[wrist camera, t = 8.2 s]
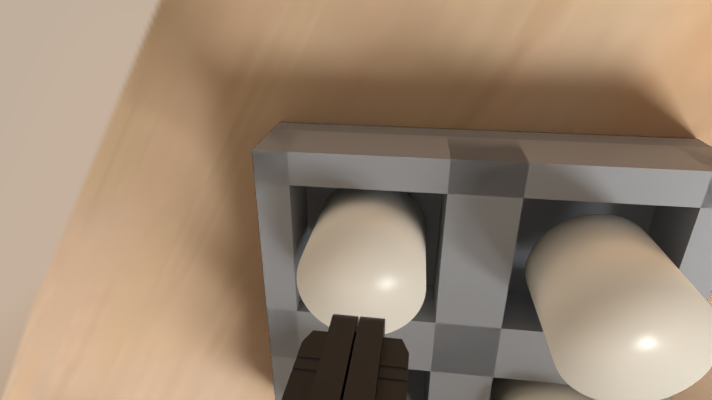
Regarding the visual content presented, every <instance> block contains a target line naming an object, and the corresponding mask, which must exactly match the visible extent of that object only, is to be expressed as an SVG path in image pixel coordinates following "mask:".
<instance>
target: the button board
mask: <svg viewBox="0 0 712 400" xmlns="http://www.w3.org/2000/svg"><path fill="white" fill-rule="evenodd" d="M252 157H253V168H254V179H255V189H256V200H257V211H258V221H259V232H260V242H261V253H262V264H263V274H264V285H265V296H266V306H267V317H268V327H269V338H270V349H271V359H272V370H273V381H274V391H275V400H281V399H282V397H283V394H284V391H285V388H286V385H287V382H288V380H289V377H290V374H291V371H292V369H293V365H294V363H295V360H296V358H297V354H298V351H299V348H300V346H301V343H302V341H303V340H304V339H305V338H306V337H307V336H308V335H309V334H310V333H311V332H312V331H313V330H316V331H326V332H328V329H329V326H327V325H325V324H324V323H322V322H321V321H320V320H318V319H317V318H316V317H315V316H314V315H313V314H312V313H311V312H310V311H309V310H308V308H307V307H306V306H305V304H304V302H303V301H302V299H301V296H300V294H299V291H298V287H297V268H298V264H299V261H300V259H301V256H302V254H303V252H304V250H305V247H306V245H307V243H308V240H309V238H310V236H311V233H312V231H313V229H314V227H315V224H316V222H317V220H318V217H319V215H320V213H321V210H322V208H323V206H324V204H325V202H326V201H327V200H328V198H329V197H330V196H331V195H332V194H333V193H334V192H335V191H336V190H338V189H339V188H347V189H365V190H383V191H402V192H407V193H408V194H409V195H410V196H411V197H412V198H413V199H414V200H415V201H416V203H417V204H418V206H419V207H420V209H421V211H422V213H423V217H424V220H425V235H426V294H425V299H424V302H423V304H422V306H421V308H420V310H419V312H418V313H417V314H416V316H415V317H414V318H413V319H412V320H411V321H410V322H409V323H407V324H406V325H405V326H403V327H401V328H400V329H398V330H395V331H393V332H391V333H387V334H385V337H387V338H397V339H402V340H403V342H404V344H405V346H406V348H407V350H408V352H409V363H408V382H407V392H408V393H409V395H410V397H411V399H412V400H492V396H491V387H492V381H493V379H494V377H495V378H505V379H516V380H526V381H537V382H547V383H557V384H567V383H566V382H565V380H564V379H563V378H562V377H561V376H560V374H559V372H558V371H557V369H556V366H555V364H554V361H553V358H552V355H551V352H550V349H549V347H548V344H547V341H546V338H545V335H544V332H543V329H542V326H541V323H540V320H539V317H538V315H537V312H536V309H535V306H534V303H533V300H532V297H531V294H530V291H529V288H528V285H527V282H526V277H525V268H526V262H527V258H528V256H529V253H530V251H531V249H532V248H533V246H534V245H535V243H536V242H537V241H538V240H539V238H540V237H541V236H543V235H544V234H545V233H546V232H547V231H548V230H550V229H551V228H552V227H554V226H556V225H557V224H559V223H561V222H563V221H566V220H568V219H571V218H574V217H577V216H582V215H588V214H609V215H615V216H619V217H622V218H625V219H628V220H630V221H632V222H634V223H635V224H637V225H638V226H640V227H641V228H642V229H643V230H644V231H645V232H646V233H647V234H648V235H649V236H650V237H651V238H652V240H653V241H654V242H655V243H656V244H657V245H658V246H659V247H660V249H661V250H662V251H663V252H664V253H665V254H666V255H667V256H668V258H669V259H670V260H671V261H672V262H673V263H674V264H675V266H676V267H677V268H678V269H679V270H680V271H681V272H682V273H683V275H684V276H685V277H686V278H687V279H688V280H689V281H690V282H691V284H692V285H693V286H694V287H695V288H696V289H697V290H698V292H699V293H700V294H701V295H702V296H703V297H704V298H705V299H706V301H708V298H709V295H710V293H711V290H712V147H711V146H709V145H707V144H705V143H704V142H702V141H700V140H699V139H689V138H664V137H639V136H613V135H588V134H563V133H537V132H512V131H486V130H461V129H436V128H410V127H385V126H359V125H334V124H309V123H283V122H279V123H278V124H277V125H276V126H275V127H274V128H273V129H272V130H271V131H270V132H269V133H268V134H267V135H266V136H265V137H264V138H263V139H262V140H261V141H260V142H259V143H258V144H257V145H256V146H255V147H254V148H253V149H252ZM568 385H569V384H568ZM669 398H670V397H667V398H664V399H661V400H669Z"/></svg>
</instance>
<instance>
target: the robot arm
mask: <svg viewBox="0 0 712 400" xmlns="http://www.w3.org/2000/svg"><path fill="white" fill-rule="evenodd" d="M408 363H409V352H408V350H407V348H406V346H405V344H404V342H403V340H402V339H397V338H387V337H385V319H384V318H373V317H363V316H360V318H359V317H358V316H351V315H340V314H333V316H332V319H331V322H330V326H329V329H328V332H326V331H316V330H313V331H312V332H311V333H310V334H309V335H308V336H307V337H306V338H305V339H304V340H303V341H302V343H301V346H300V348H299V351H298V354H297V358H296V360H295V363H294V365H293V369H292V371H291V374H290V377H289V380H288V382H287V385H286V388H285V391H284V394H283V397H282V399H281V400H407V382H408Z"/></svg>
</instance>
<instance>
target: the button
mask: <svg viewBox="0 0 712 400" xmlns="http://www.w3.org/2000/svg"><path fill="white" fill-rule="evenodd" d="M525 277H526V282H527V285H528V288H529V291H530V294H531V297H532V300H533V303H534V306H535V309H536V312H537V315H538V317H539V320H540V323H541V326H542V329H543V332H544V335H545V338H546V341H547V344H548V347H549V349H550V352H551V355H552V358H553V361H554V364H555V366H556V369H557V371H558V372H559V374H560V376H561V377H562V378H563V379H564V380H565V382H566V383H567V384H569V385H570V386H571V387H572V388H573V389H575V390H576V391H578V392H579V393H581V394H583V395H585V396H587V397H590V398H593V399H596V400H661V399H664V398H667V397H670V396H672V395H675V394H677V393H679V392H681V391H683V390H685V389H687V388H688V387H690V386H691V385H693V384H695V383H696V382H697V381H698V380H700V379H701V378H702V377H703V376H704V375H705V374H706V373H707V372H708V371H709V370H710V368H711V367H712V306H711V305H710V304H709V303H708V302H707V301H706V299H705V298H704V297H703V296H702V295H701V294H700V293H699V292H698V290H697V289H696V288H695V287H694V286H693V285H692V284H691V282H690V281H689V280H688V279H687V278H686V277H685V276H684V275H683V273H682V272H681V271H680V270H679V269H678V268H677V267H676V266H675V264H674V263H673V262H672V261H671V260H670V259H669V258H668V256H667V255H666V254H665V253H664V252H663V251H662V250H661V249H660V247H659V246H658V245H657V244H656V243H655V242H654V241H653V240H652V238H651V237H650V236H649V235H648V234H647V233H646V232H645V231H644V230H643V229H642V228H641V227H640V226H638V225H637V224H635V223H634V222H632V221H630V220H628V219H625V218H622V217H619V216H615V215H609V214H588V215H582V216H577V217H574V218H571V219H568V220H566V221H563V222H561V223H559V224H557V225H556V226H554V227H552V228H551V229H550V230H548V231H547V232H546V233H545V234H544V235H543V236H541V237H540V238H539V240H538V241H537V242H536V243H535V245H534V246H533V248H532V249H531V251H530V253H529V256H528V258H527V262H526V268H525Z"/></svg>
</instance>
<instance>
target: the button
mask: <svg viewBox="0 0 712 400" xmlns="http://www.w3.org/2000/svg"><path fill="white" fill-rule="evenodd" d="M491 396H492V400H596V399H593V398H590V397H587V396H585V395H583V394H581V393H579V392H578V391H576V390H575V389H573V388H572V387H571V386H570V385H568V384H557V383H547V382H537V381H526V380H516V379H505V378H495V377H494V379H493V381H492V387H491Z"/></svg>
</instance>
